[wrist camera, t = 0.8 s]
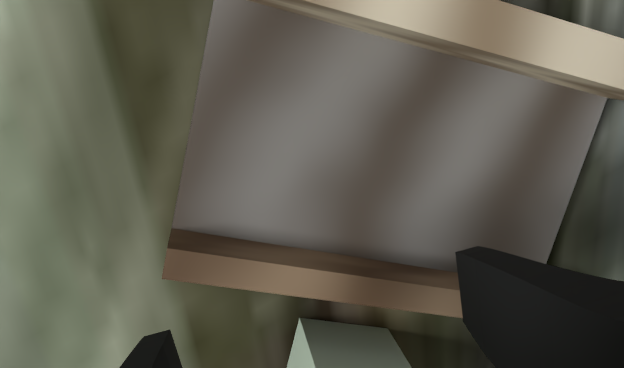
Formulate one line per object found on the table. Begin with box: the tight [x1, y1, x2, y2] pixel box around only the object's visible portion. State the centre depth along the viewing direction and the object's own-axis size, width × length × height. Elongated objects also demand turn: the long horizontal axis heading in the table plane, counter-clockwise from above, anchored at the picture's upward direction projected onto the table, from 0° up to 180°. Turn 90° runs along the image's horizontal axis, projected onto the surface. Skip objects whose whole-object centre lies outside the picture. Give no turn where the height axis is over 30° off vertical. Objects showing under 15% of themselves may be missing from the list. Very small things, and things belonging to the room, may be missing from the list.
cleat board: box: [162, 0, 624, 318], centre depth 19 cm, size 17×12×6 cm
